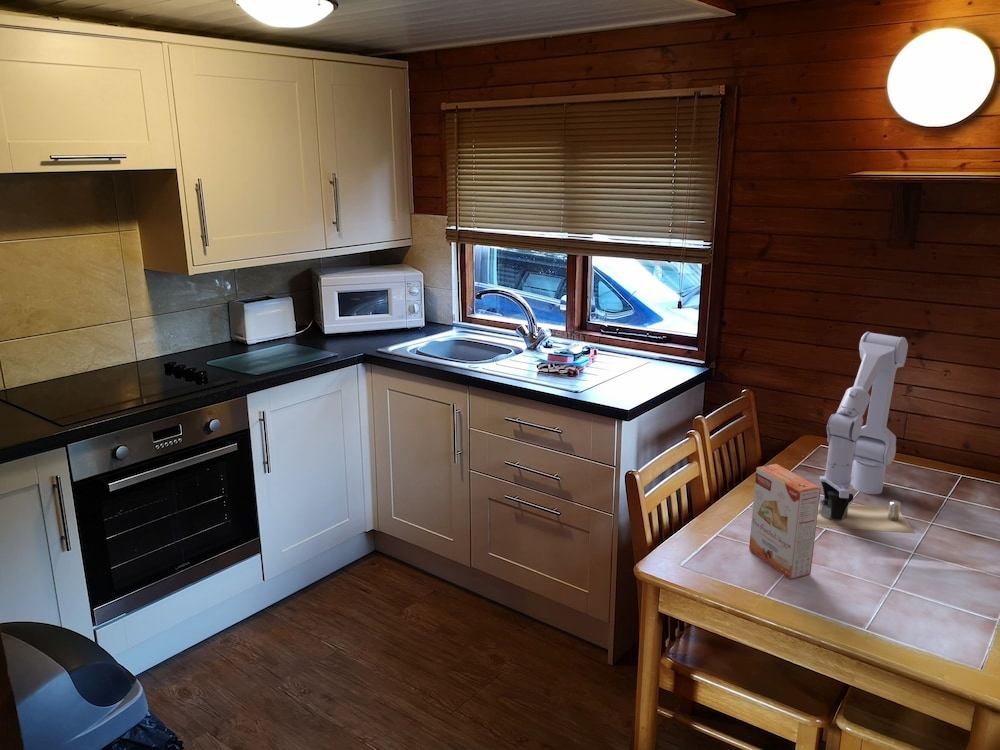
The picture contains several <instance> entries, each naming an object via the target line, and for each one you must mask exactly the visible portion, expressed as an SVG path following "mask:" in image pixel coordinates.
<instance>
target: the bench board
mask: <svg viewBox="0 0 1000 750" xmlns="http://www.w3.org/2000/svg"><path fill="white" fill-rule="evenodd" d="M819 509H820V501H819V507H818V515H817V524H816V526H817V528H819V527H820V528H833V529H844V530H845V529H847V530H863V531H874V532H877V531H878V532H891V533H902V534H903V533H905V534H916V531H915V530H914V529H913V527H912V526H911V525H910V524H909V522H908V520H907V519H906V518H905V516H903V514H902V512H901V511H900V513H899V519H898V521H891V520H889V519H888V511H889V506H884V505H883V506H880V505H866V504H853V503H852V504H851V503H849V504H848V513H847V518H846V519H844V520H842V521H837V520H829V519H827V518H824V517H822V516H821V515H820V513H819Z"/></svg>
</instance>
